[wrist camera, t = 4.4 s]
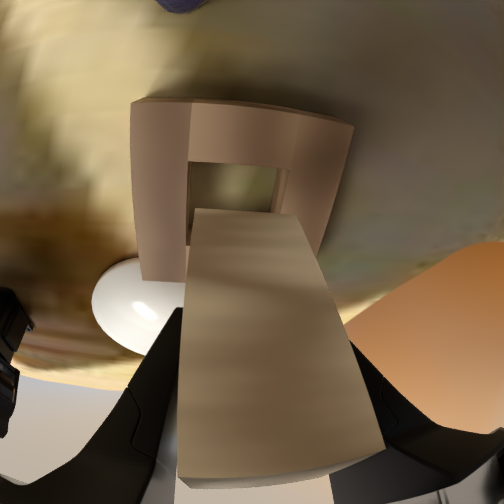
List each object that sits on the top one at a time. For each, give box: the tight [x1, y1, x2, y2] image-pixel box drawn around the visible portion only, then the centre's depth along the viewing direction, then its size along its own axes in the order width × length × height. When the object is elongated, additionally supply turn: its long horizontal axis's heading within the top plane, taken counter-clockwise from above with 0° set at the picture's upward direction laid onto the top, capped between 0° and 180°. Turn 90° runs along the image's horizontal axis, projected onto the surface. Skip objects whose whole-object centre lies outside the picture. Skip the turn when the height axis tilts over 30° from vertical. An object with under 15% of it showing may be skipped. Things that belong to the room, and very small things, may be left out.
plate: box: [92, 257, 186, 355], centre depth 23 cm, size 13×13×1 cm
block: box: [177, 208, 386, 489], centre depth 8 cm, size 4×4×9 cm
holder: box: [130, 97, 355, 283], centre depth 16 cm, size 11×11×2 cm
